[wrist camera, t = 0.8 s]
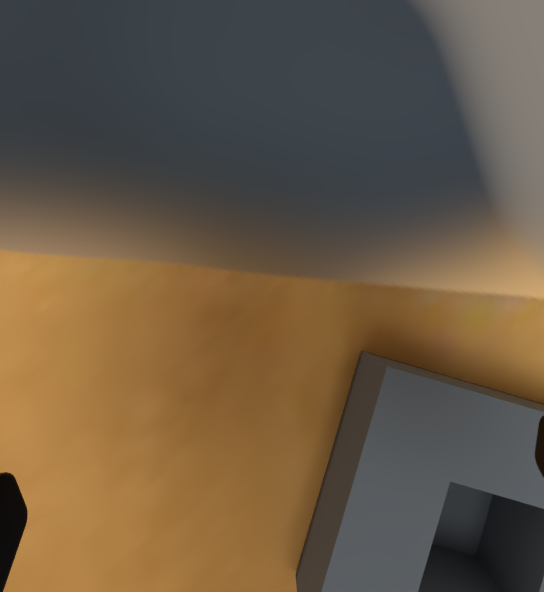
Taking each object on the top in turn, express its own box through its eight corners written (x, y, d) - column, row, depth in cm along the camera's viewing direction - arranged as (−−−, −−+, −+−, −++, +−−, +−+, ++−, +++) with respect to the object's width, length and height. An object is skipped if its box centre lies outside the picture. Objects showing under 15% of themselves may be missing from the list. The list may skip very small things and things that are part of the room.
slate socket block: (520, 641, 24) (593, 742, 19) (295, 575, 24) (302, 656, 19) (585, 416, 24) (676, 451, 19) (361, 350, 24) (387, 366, 19)
